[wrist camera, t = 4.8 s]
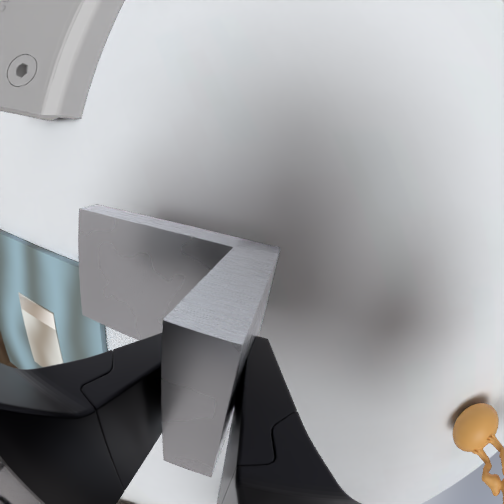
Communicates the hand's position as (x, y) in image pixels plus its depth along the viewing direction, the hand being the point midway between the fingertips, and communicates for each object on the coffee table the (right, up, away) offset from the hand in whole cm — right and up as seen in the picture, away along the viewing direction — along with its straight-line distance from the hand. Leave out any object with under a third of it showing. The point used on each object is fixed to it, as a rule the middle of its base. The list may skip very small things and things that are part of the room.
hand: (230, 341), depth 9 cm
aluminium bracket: (-3, +1, +3) cm, 4 cm away
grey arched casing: (-12, +20, +4) cm, 23 cm away
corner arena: (-20, -5, +13) cm, 24 cm away
